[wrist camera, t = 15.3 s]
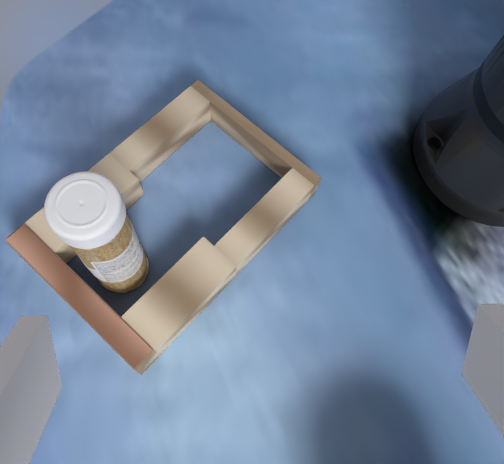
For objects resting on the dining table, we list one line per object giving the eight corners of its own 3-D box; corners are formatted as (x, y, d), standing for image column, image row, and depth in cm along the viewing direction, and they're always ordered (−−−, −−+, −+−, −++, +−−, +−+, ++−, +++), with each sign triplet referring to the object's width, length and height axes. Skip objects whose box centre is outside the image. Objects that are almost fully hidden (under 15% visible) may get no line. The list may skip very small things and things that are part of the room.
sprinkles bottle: (91, 252, 41) (35, 179, 29) (143, 237, 42) (111, 160, 29) (102, 301, 40) (49, 247, 27) (156, 286, 40) (128, 226, 28)
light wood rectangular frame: (199, 99, 48) (197, 78, 45) (315, 192, 45) (321, 176, 42) (18, 252, 41) (3, 238, 38) (141, 374, 38) (134, 370, 35)
